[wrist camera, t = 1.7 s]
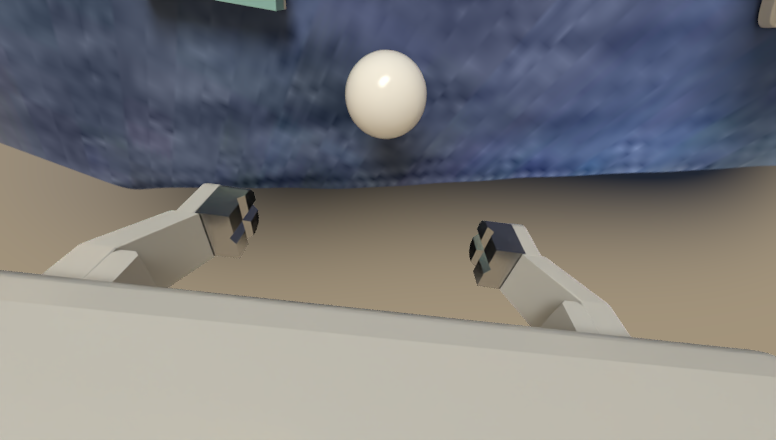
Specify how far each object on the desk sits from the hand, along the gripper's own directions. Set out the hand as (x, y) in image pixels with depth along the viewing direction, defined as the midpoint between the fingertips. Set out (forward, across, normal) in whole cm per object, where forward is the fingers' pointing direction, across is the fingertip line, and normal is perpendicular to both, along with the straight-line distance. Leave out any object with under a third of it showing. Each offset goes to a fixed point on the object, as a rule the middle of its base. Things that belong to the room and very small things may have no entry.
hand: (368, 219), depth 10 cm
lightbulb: (+23, 0, 0) cm, 23 cm away
